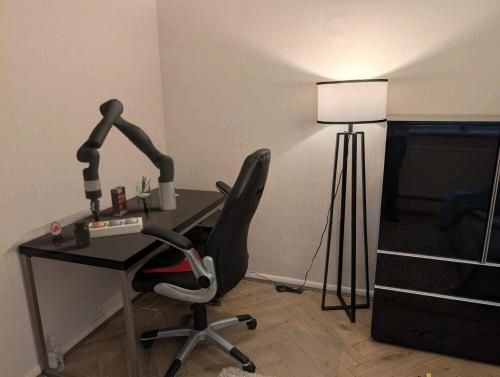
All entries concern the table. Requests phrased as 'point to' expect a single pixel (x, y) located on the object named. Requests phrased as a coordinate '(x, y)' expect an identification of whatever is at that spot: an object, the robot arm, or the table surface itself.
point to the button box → (115, 229)
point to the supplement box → (118, 200)
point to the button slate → (114, 222)
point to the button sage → (131, 221)
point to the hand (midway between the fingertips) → (97, 221)
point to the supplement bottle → (81, 234)
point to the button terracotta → (98, 224)
